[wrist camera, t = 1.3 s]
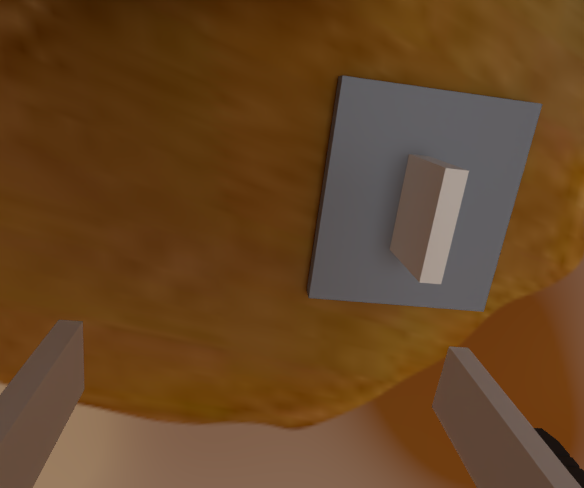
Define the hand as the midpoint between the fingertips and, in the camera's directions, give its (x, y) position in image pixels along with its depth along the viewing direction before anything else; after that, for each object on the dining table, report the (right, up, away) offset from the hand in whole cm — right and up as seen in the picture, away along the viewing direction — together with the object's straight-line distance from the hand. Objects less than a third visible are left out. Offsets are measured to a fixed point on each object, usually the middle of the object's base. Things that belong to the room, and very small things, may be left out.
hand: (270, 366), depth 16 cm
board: (+11, +8, +22) cm, 26 cm away
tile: (+10, +8, +21) cm, 24 cm away
